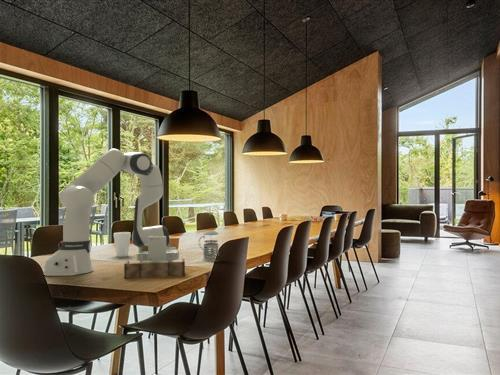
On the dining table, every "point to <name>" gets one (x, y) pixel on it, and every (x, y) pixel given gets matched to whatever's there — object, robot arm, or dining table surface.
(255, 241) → the dining table surface
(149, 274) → the box
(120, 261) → the dining table surface
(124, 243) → the foam cup
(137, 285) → the dining table surface
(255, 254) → the dining table surface
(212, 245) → the french press
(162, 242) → the skincare box
